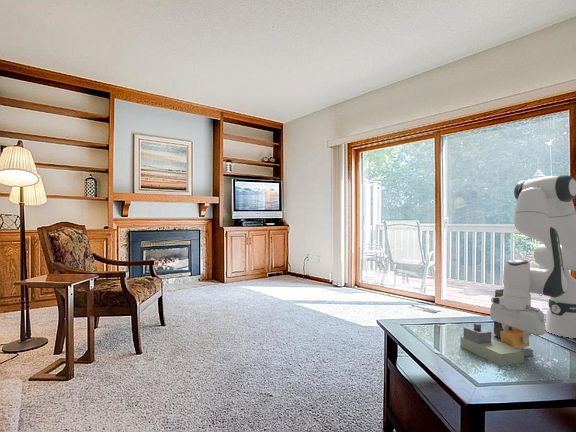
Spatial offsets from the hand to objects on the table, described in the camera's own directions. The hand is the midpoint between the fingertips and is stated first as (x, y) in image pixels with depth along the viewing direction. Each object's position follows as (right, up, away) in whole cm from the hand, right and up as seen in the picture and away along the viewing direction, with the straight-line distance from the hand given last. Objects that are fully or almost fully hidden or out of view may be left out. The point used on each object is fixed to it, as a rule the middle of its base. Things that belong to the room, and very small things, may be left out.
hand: (515, 339), depth 131 cm
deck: (-7, -4, -2) cm, 8 cm away
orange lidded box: (-1, -2, -1) cm, 2 cm away
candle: (+5, -5, +15) cm, 16 cm away
